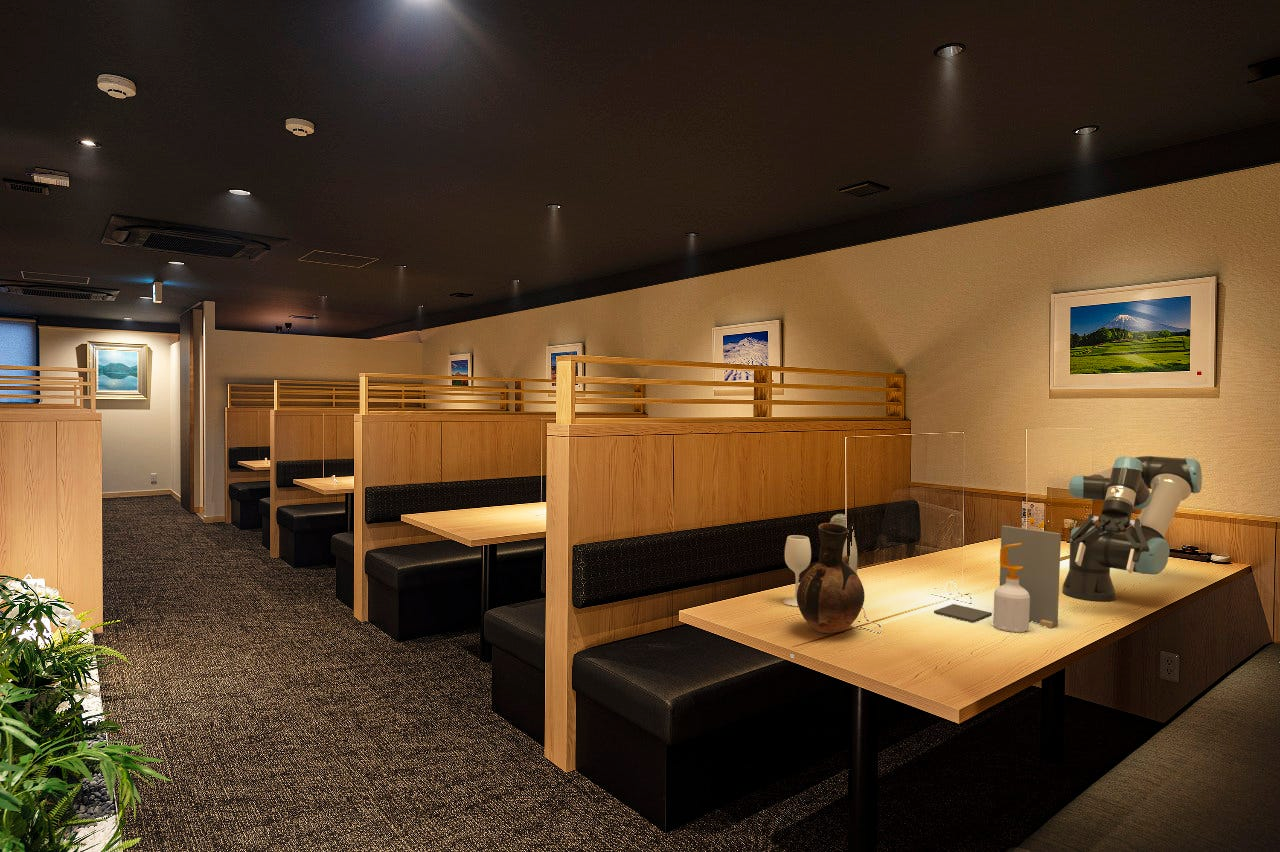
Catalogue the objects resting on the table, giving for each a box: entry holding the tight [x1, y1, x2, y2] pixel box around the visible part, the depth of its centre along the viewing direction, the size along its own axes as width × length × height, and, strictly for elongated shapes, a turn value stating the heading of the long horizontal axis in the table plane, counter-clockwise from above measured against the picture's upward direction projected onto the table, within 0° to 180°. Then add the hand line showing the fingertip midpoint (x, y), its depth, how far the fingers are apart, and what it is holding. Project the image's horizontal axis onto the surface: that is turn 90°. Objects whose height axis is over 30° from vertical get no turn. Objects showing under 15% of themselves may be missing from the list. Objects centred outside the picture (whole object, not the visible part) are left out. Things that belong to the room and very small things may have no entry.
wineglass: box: [782, 534, 812, 607], centre depth 235 cm, size 9×9×21 cm
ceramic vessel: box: [797, 522, 865, 634], centre depth 207 cm, size 21×18×30 cm
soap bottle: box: [992, 543, 1030, 633], centre depth 212 cm, size 9×9×25 cm
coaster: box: [933, 603, 993, 624], centre depth 225 cm, size 12×12×1 cm
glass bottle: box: [829, 513, 858, 575], centre depth 238 cm, size 10×10×28 cm
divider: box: [999, 525, 1062, 629], centre depth 219 cm, size 5×16×27 cm, turn 40°
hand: (1102, 567), depth 219 cm, fingers open, 13 cm apart
